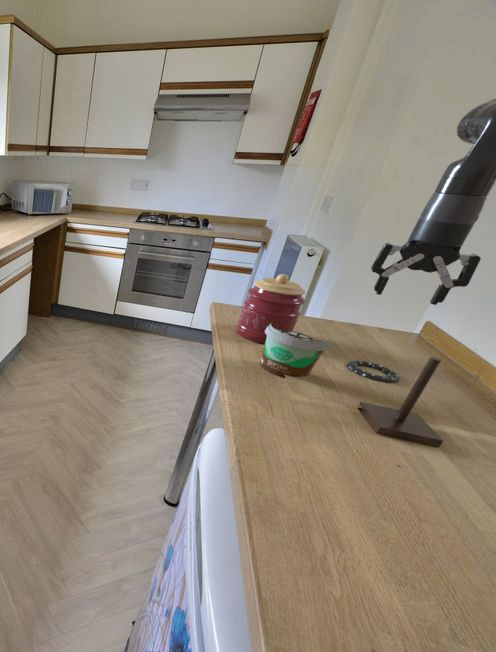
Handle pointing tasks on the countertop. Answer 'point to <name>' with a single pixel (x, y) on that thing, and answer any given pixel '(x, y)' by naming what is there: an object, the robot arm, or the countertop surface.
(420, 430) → the brown peg stand
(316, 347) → the food container
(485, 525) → the countertop surface
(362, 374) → the dark grey ring
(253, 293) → the kitchen canister
